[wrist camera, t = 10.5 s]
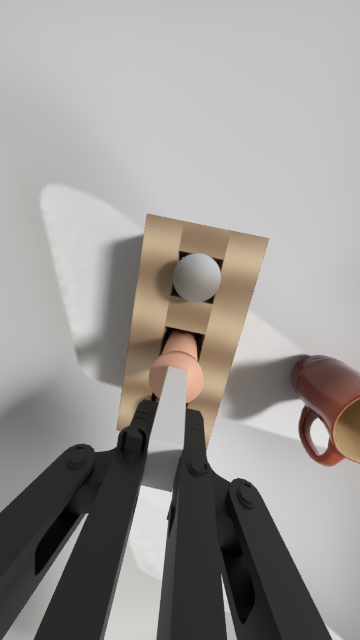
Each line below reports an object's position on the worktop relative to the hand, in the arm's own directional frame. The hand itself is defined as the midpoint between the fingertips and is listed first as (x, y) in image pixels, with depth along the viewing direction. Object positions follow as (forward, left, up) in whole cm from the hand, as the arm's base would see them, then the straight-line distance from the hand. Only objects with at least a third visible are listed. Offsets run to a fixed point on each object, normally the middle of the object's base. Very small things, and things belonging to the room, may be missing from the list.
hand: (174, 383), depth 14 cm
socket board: (0, 0, -14) cm, 14 cm away
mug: (+4, +20, -14) cm, 25 cm away
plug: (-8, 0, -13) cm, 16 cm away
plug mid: (0, 0, -9) cm, 9 cm away
